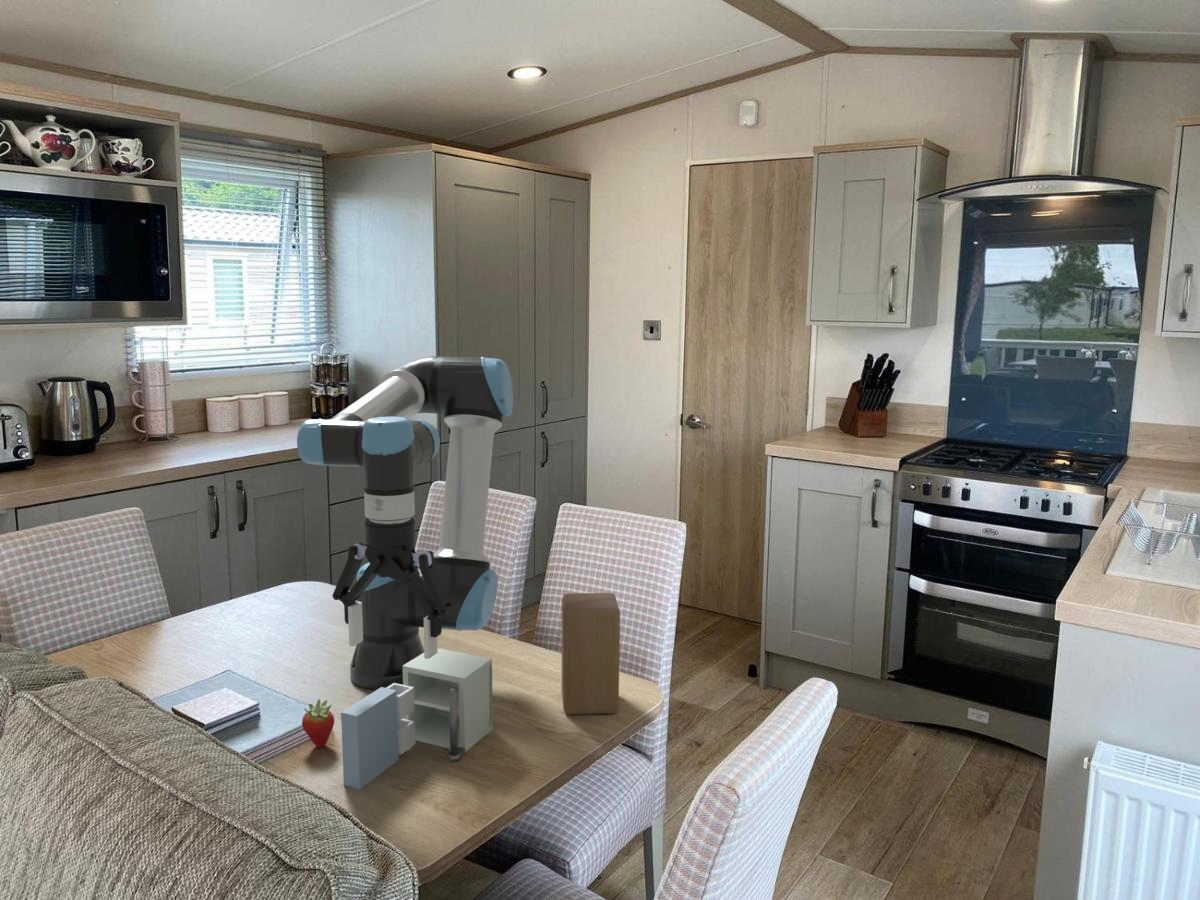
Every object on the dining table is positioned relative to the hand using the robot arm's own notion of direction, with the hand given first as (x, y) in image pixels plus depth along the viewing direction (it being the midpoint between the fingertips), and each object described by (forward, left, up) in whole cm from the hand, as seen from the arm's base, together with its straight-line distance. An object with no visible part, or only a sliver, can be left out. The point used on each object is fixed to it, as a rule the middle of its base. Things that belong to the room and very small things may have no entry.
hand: (393, 649), depth 147 cm
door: (-2, -2, -19) cm, 20 cm away
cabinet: (+2, +12, -19) cm, 23 cm away
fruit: (-15, -1, -20) cm, 25 cm away
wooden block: (+19, +33, -20) cm, 43 cm away
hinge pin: (+8, +5, -19) cm, 21 cm away
